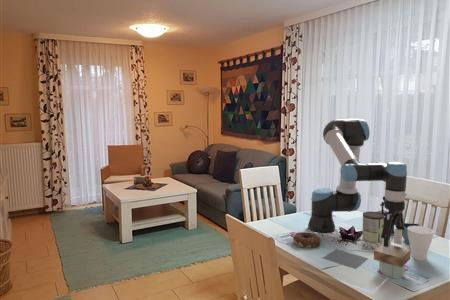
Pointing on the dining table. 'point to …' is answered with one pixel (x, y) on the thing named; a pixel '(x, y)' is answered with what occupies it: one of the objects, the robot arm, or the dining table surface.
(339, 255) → the mat
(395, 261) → the board
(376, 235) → the coffee can
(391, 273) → the bowl
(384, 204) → the coffee grinder
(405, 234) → the flower pot
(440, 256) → the dining table surface
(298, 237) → the donut
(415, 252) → the cup
